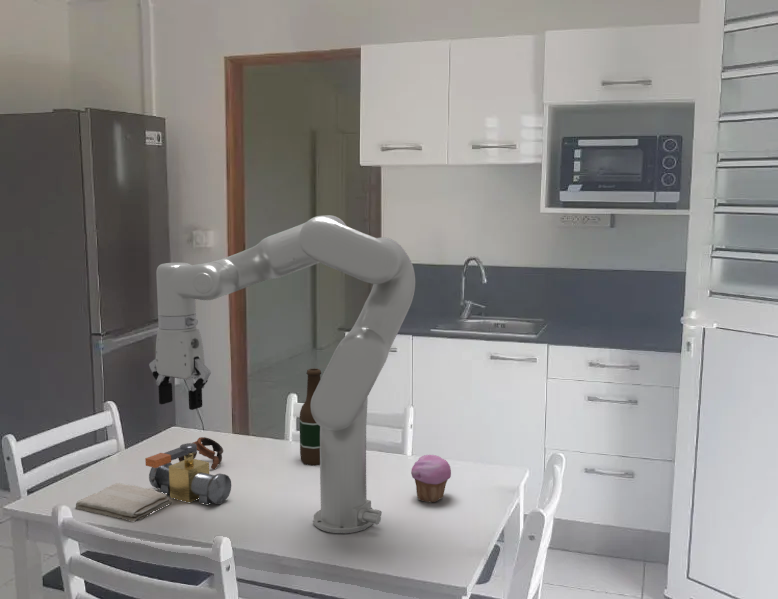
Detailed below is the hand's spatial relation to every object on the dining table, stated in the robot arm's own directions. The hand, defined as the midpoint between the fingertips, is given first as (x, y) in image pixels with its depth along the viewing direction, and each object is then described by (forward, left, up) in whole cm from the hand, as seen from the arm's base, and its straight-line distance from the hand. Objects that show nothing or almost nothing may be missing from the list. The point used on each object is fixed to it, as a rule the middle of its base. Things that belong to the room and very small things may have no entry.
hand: (180, 405), depth 160 cm
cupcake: (-41, -34, -24) cm, 59 cm away
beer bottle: (-3, -42, -24) cm, 49 cm away
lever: (+7, -4, -14) cm, 16 cm away
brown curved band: (+19, -24, -24) cm, 39 cm away
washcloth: (+15, +3, -25) cm, 29 cm away
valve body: (+7, -8, -24) cm, 26 cm away
